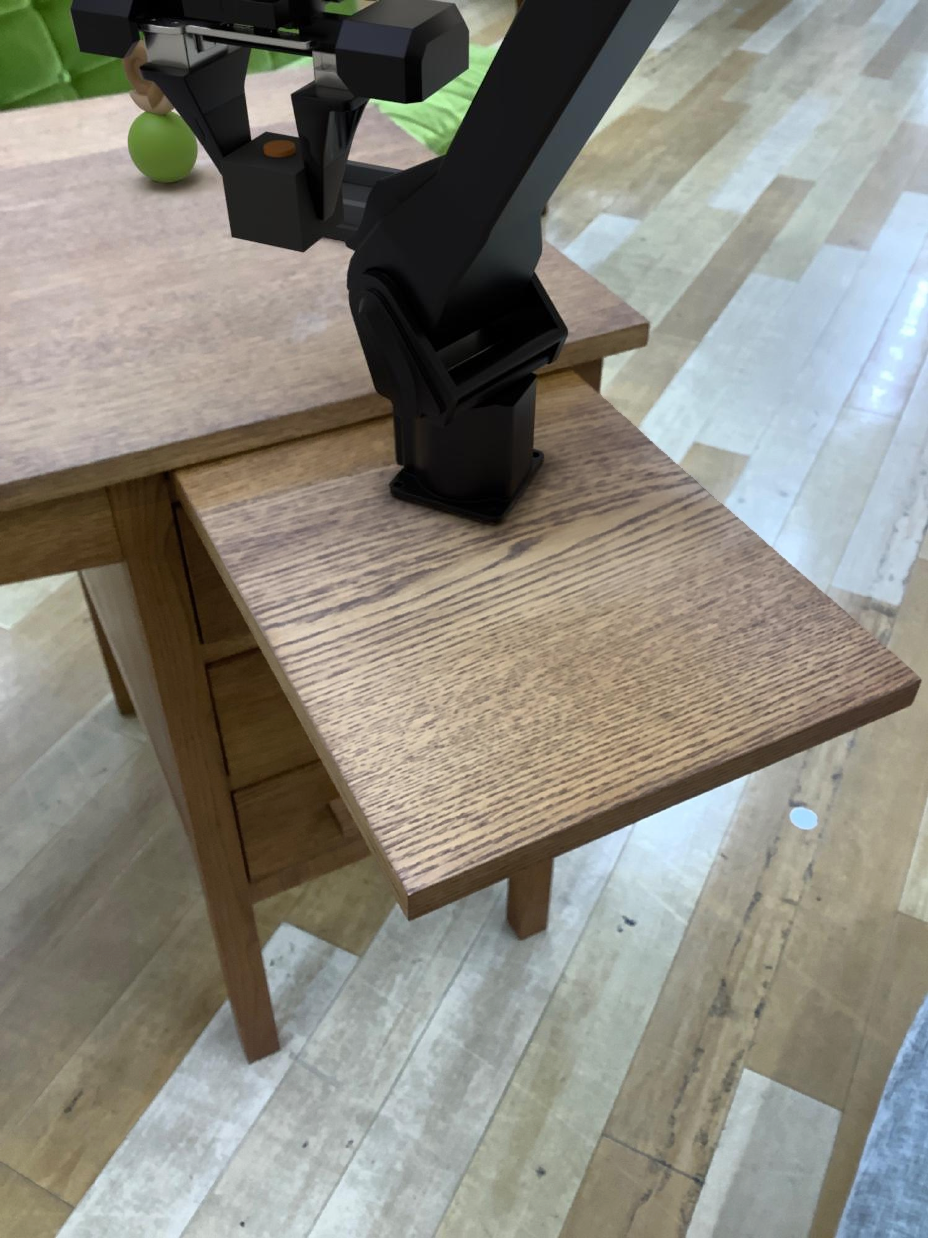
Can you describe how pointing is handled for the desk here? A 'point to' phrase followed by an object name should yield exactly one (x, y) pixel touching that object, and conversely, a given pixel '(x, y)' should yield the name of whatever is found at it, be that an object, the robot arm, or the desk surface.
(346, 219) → the base pad
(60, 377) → the desk surface
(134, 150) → the snail figurine
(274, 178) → the pad block
